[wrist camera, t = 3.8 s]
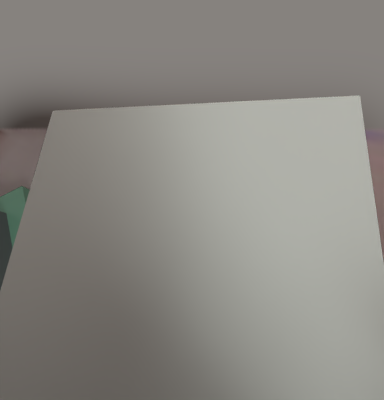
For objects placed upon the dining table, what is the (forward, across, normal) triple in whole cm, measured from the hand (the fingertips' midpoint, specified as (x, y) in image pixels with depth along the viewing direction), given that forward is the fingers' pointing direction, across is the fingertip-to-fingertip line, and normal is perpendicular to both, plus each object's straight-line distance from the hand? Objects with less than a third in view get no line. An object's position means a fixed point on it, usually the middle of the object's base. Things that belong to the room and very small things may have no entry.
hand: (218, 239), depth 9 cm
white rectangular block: (+4, 0, +6) cm, 7 cm away
